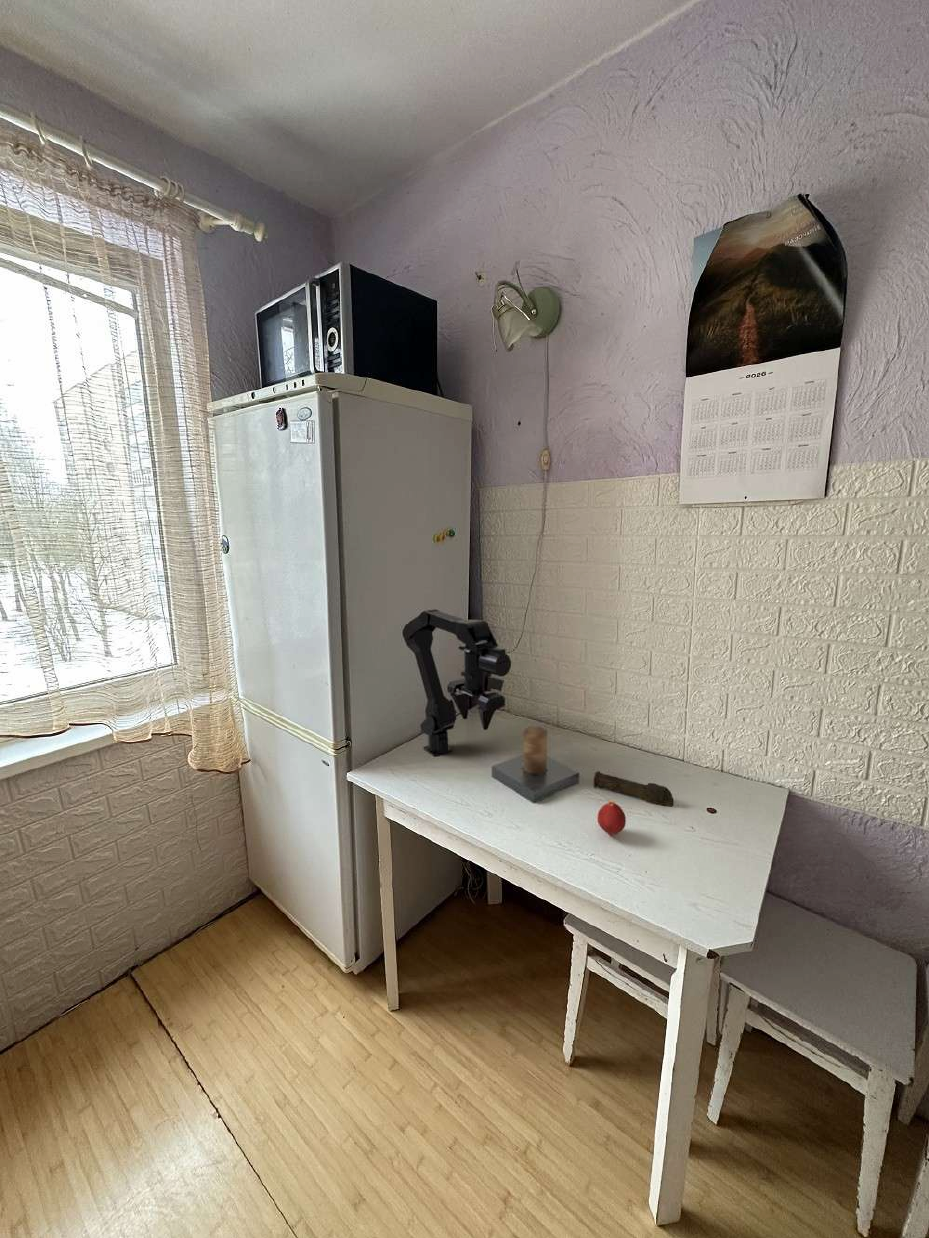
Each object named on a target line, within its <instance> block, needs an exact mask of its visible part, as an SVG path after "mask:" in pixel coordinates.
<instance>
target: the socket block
mask: <svg viewBox="0 0 929 1238" xmlns="http://www.w3.org/2000/svg"><path fill="white" fill-rule="evenodd" d="M491 777H492V778H493V779H495V780H496V781H498V782H499V783H501V784H502V785H503V786H505V787H507V788H509V789H510V790H512V791H513V792H514V793H516V794H519V795H520V796H522V797H523V798H524V799H526V800H528V801H530V802H531V803H532V804H534V803H537V802H538V801H541V800H543V799H546V798H548V797H550V796H552V795H555V794H557V793H560V792H562V791H564V790H567V789H569V788H571V787H574V786H576V785H578V784H579V783H580V782H579V781H580V772H579V771H577V770H575V769H573V768H571V767H569V766H568V765H565V764H563V763H562V762H560V761H557V760H556V759H553V758H551V757H550V756H548V755H547V765H546V772H545V773H543V774H540V775H535V776H534V775H532V774H529V773H526V772H525V771H524V770H523V754H522V755H519V756H516V757H514V758H511V759H507V760H505V761H502V762H500V763H499V762H498V763H497V764H494V765H492V766H491Z"/></svg>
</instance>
